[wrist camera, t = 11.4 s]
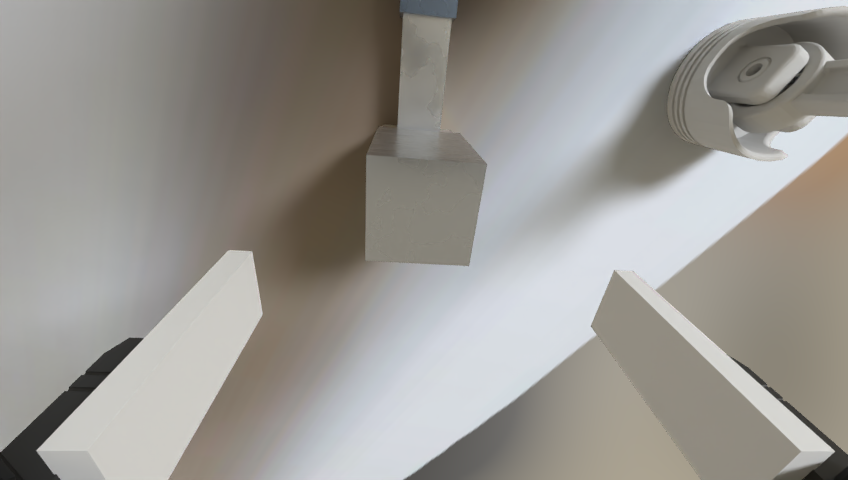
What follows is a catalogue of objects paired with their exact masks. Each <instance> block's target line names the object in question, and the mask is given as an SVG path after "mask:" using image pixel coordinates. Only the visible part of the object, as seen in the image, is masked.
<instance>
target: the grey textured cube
mask: <svg viewBox="0 0 848 480" xmlns="http://www.w3.org/2000/svg"><path fill="white" fill-rule="evenodd" d="M486 167H487V164H486V162H485V161H484V160H483V159H482V158H481V157H480V156H479V154H478V153H477V152H476V151H475V150H474V149H473V148H472V146H471V145H470V144H469V143H468V142H467V141H466V140H465V138H464V137H463V136H462V135H461V134H460V133H450V132H439V131H427V130H415V129H403V128H391V127H379V126H378V129H377V131H376V133H375V136H374V138H373V140H372V143H371V145H370V147H369V150H368V152H367V154H366V232H365V261H378V262H399V263H420V264H441V265H462V266H469V263H470V257H471V251H472V246H473V240H474V235H475V229H476V223H477V218H478V212H479V206H480V201H481V195H482V190H483V184H484V178H485V173H486Z"/></svg>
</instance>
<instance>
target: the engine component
mask: <svg viewBox="0 0 848 480" xmlns="http://www.w3.org/2000/svg"><path fill="white" fill-rule="evenodd" d="M667 116H668V119H669V123H670V126H671V127H672V129H673V130H674V132H675V133H676V134H677V135H678V136H679V137H680V138H681V139H683V140H685V141H687V142H689V143H693V144H696V145H700V146H704V147H708V148H712V149H715V150H719V151H723V152H727V153H731V154H735V155H739V156H742V157H746V158H750V159H754V160H758V161H776V160H783V159H785V158H787V157H788V155H787V154H786V153H785V152H783V151H782V150H778V149H773V148H771V146H770V144H771V141H772V140H773V139H774V137H775V136H776V135H777V134H778V133H779V132H780V131H781V132H793V131H797V130H799V129H801V128H803V127H805V126H806V125H807V124H808V123H809V122H811V121H812V120H813V119H814V118H815V117H816V116H838V117H848V7H846V6H840V7H829V8H822V9H815V10H808V11H801V12H794V13H787V14H780V15H773V16H767V17H759V18H752V19H745V20H739V21H736V22H732V23H729V24H726V25H725V26H723V27H721V28H719V29H717V30H715V31H713V32H712V33H711V34H709V35H708V36H706V37H705V38H704V39H702V40H701V41H700V42H699V43H698V44H697V45H696V46H695V47H694V48H693V49H692V50H691V52H690V53H689V54H688V55H687V56H686V58H685V59H684V61H683V62H682V63H681V65H680V67H679V68H678V70H677V72H676V74H675V76H674V79H673V81H672V84H671V86H670V90H669V94H668V99H667Z"/></svg>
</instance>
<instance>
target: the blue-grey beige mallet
mask: <svg viewBox="0 0 848 480" xmlns="http://www.w3.org/2000/svg"><path fill="white" fill-rule="evenodd" d="M457 6H458V0H400V17H403V28H402V48H401V67H400V87H399V106H398V125H388V124H383V127H391V128H403V129H415V130H427V131H439V132H450V133H453V132H452V131H451V130H446V129H440V125H441V115H442V106H443V97H444V87H445V78H446V69H447V60H448V50H449V41H450V32H451V23H452V22H453V21H454V20H455V19H456V15H457Z"/></svg>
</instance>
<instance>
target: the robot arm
mask: <svg viewBox="0 0 848 480" xmlns="http://www.w3.org/2000/svg"><path fill="white" fill-rule="evenodd" d="M262 315H263V313H262V307H261V301H260V295H259V289H258V283H257V277H256V271H255V265H254V259H253V253H252V251H236V250H228V251H227V252H226V253H225V254H224V256H223V257H222V258H221V259H220V260H219V261H218V262H217V263H216V264H215V265H214V266H213V267H212V268H211V269H210V270H209V271H208V272H207V273H206V274H205V275H204V276H203V277H202V278H201V280H200V281H199V282H198V283H197V284H196V285H195V286H194V287H193V288H192V289H191V290H190V291H189V292H188V293H187V294H186V295H185V296H184V297H183V298H182V299H181V300H180V301H179V302H178V303H177V305H176V306H175V307H174V308H173V309H172V310H171V311H170V312H169V313H168V314H167V315H166V316H165V317H164V318H163V319H162V320H161V321H160V322H159V323H158V324H157V325H156V326H155V327H154V328H153V330H152V331H151V332H150V333H149V334H148V335H147V336H146V337H145V338H128V339H127V340H125V341H124V342H122V343H120V344H119V345H117V346H115V347H114V348H112V349H110V350H109V351H107V352H106V353H104V354H103V355H102V356H101V357H100V358H99V359H98V360H97V361H96V362H95V363H94V364H93V365H92V366H91V367H90V368H89V369H88V370H86V373H85V375H81V376H80V377H79V378H78V379H77V380H76V381H75V382H74V383H73V384H72V385H71V386H70V387H69V390H68V391H64V392H63V393H62V394H61V395H60V396H59V397H58V398H57V399H56V400H55V401H54V402H53V403H52V404H51V405H50V406H49V407H48V408H47V409H46V410H45V411H44V412H42V413H41V414H40V415H39V416H38V417H37V418H36V419H35V420H34V421H33V422H32V423H31V424H30V425H29V426H28V427H27V428H26V429H25V430H24V431H23V432H22V433H20V434H19V435H18V436H17V437H16V438H15V439H14V440H13V441H12V442H11V443H10V444H9V445H8V446H7V447H6V448H5V449H4V450H3V451H2V452H0V480H168V479H169V477H170V475H171V474H172V472H173V470H174V468H175V467H176V465H177V463H178V461H179V460H180V458H181V456H182V454H183V453H184V451H185V449H186V448H187V446H188V444H189V442H190V441H191V439H192V437H193V435H194V434H195V432H196V430H197V428H198V427H199V425H200V423H201V421H202V420H203V418H204V416H205V414H206V413H207V411H208V409H209V407H210V406H211V404H212V402H213V400H214V399H215V397H216V395H217V393H218V392H219V390H220V388H221V386H222V385H223V383H224V381H225V379H226V378H227V376H228V374H229V372H230V371H231V369H232V367H233V365H234V364H235V362H236V360H237V358H238V357H239V355H240V353H241V351H242V350H243V348H244V346H245V344H246V343H247V341H248V339H249V337H250V336H251V334H252V332H253V331H254V329H255V327H256V325H257V324H258V322H259V320H260V318H261V317H262ZM591 327H592V329H593V330H594V331H595V333H596V334H597V336H598V337H599V338H600V340H601V341H602V342H603V344H604V345H605V347H606V348H607V349H608V351H609V352H610V354H611V355H612V356H613V358H614V359H615V361H616V362H617V363H618V365H619V366H620V368H621V369H622V370H623V372H624V373H625V374H626V376H627V377H628V379H629V380H630V381H631V383H632V384H633V386H634V387H635V388H636V390H637V391H638V393H639V394H640V395H641V397H642V398H643V400H644V401H645V402H646V404H647V405H648V406H649V408H650V409H651V411H652V412H653V413H654V415H655V416H656V418H657V419H658V420H659V422H660V423H661V425H662V426H663V427H664V429H665V430H666V432H667V433H668V434H669V436H670V437H671V439H672V440H673V441H674V443H675V444H676V446H677V447H678V448H679V450H680V451H681V452H682V454H683V455H684V457H685V458H686V459H687V461H688V462H689V464H690V465H691V466H692V468H693V469H694V470H695V472H696V473H697V475H698V476H699V477H700V479H701V480H848V455H847V454H846V453H845V452H844V451H843V450H842V449H841V448H839V447H838V446H837V445H836V444H835V443H834V442H832V441H831V440H830V439H829V438H828V437H827V436H826V435H824V434H823V433H822V432H821V431H820V430H819V429H818V428H816V427H815V426H814V425H813V424H812V423H811V422H810V421H809V420H807V419H806V418H805V417H804V416H803V415H802V414H801V413H799V412H798V411H797V410H796V409H795V408H794V407H793V406H791V405H790V404H789V403H788V402H787V401H783V399H782V397H781V396H780V395H779V394H778V393H777V392H775V391H774V390H773V389H772V388H770V387H767V384H766V383H765V382H764V381H763V380H762V379H760V378H759V377H758V376H757V375H756V374H755V373H754V372H752V371H751V370H750V369H749V368H748V367H746V366H745V365H743V364H741V363H740V362H738V361H737V360H735V359H734V358H732V357H730V356H729V355H727V354H726V353H724V352H723V351H722V350H721V349H720V348H719V347H718V346H717V345H715V344H714V343H713V342H712V341H711V340H710V339H709V338H708V337H706V336H705V335H704V334H703V333H702V332H701V331H700V330H699V329H698V328H696V327H695V326H694V325H693V324H692V323H691V322H690V321H689V320H687V319H686V318H685V317H684V316H683V315H682V314H681V313H680V312H679V311H677V310H676V309H675V308H674V307H673V306H672V305H671V304H669V303H668V302H667V301H666V300H665V299H664V298H663V297H662V296H661V295H659V294H658V293H657V292H656V291H655V290H654V289H653V288H652V287H651V286H649V285H648V284H647V283H646V282H645V281H644V280H643V279H642V278H640V277H639V276H638V275H637V274H636V273H635V272H634V271H619V270H614V272H613V275H612V277H611V280H610V282H609V284H608V287H607V289H606V291H605V294H604V296H603V298H602V301H601V303H600V306H599V308H598V310H597V313H596V315H595V317H594V320H593V322H592V325H591Z"/></svg>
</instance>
